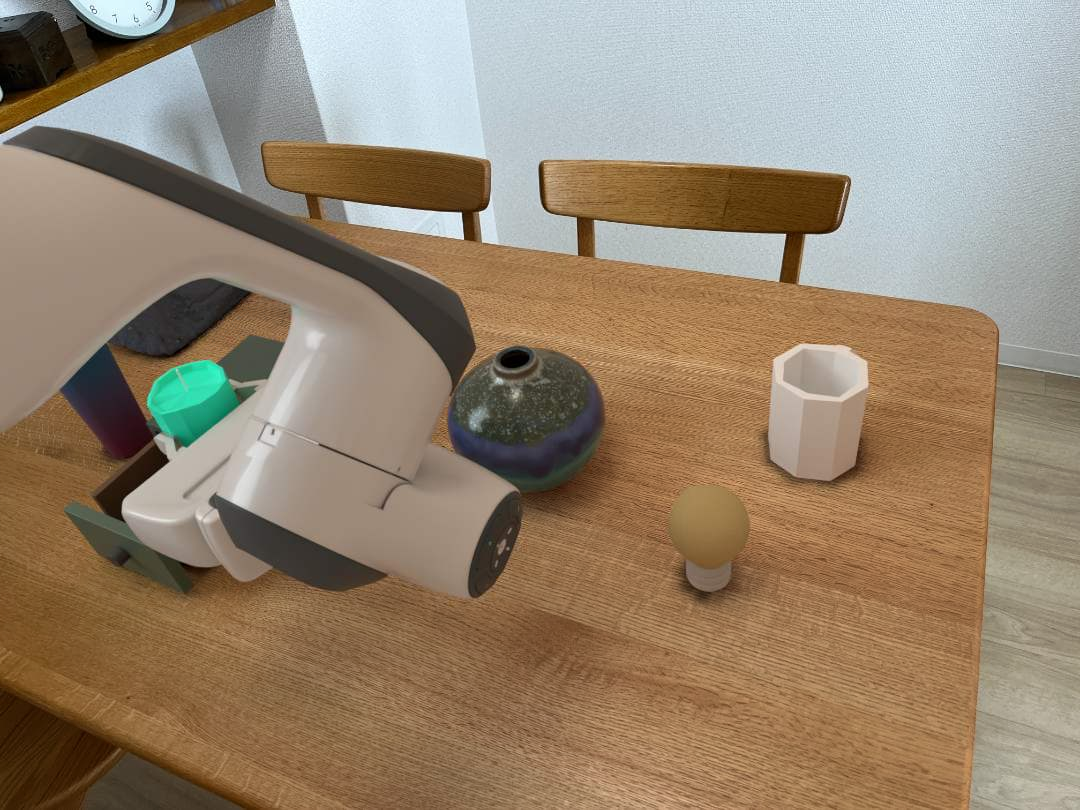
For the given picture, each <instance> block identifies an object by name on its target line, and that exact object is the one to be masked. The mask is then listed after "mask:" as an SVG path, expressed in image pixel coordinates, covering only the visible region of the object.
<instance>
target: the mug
mask: <svg viewBox="0 0 1080 810" xmlns="http://www.w3.org/2000/svg"><path fill="white" fill-rule="evenodd" d="M868 368H869V367H868V361H867V360H865V359H864V358H862V357H860V355H859V354H858V353H857V352H856V350H854V349H853V348H852V347H849V346H846V345H842V344H837V345H835V344H818V343H799V344H798V345H796V346H794V347H792V348H790V349H788V350H787V351H785V352H784V353H781V354H780V355H778V356H776V357H774V358H773V360H772V373H771V374H772V375H771V387H770V403H769V404H770V405H769V415H768V417H769V418H768V429H767V430H768V432H767V439H768V448H769V460H770V461H771V462H773V463H774V464H775V465H777V466H778V467H780V468H782V469H783V470H784V471H786V472H787V473H788V474H790V475H791V476H793V477H794V478H797V479H798V478H799V479H806V480H815V481H816V480H817V481H827V482H831V481H833V480H834V479H836V478H838V477H839V476H841V475H842V474H844V473H846V472H847V471H850V470H851V469H852V468H854V467H855V466H856V461H857V455H858V451H859V443H860V438H861V432H862V427H863V421H864V416H865V411H866V410H865V409H866V404H867V398H868V392H869V371H868Z"/></svg>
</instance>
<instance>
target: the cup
mask: <svg viewBox="0 0 1080 810" xmlns="http://www.w3.org/2000/svg"><path fill="white" fill-rule="evenodd" d="M58 392H60V394H61V395H62V396H63V397H64V398H65V400H66V401H67V402H68V403H69V404H70V406H71V407H72V408H73V409H74V411H75V412H76V413H77V415H78V416H79V417H80V418H81V420H82V421H83V422H84V423H85V425H86V426H87V427H88V428H89V430H91V431H92V433H93V435H95V437H96V438H97V440H99V442H100V443H101V444H102V446H103V447H104V448H105V449H106V451H107V452H108V453H109V454H110V455H111V456H112V457H114V458H118V459H122V458H124V459H125V458H130V457H133V456H135V455H136V454H137V453H138V452H139V451H140V450H141V449H143V448H144V447H145V446H146V445H147V444H148V443H150V442H151V441H152V440H153V439H154V436H153V434H152V432H151V431H150V429H149V428H148V426H147V424H146V423H147V422H148V420H147V418H146V416H145V414H144V413H143V410H142V409H141V407H140V404H139V403H138V401H137V399H136V397H135V394H134V393H133V391H132V389H131V387H130V385H129V384H128V382H127V379H126V378H125V376H124V374H123V371H122V370H121V368H120V366H119V364H118V362H117V360H116V358H115V356H114V354H113V353H112V351H111V349H110V347H109V345H108V342H106V343H105V344H104V345H103V346H102V347H101V348H100V349H99V350H98V351H97V352H96V353H95V354H94V355H93V356H92V357H91V358H90V359H89V360H88V361H87V362H86V363H85V364H84V365H83V366H82V367H81V368H80V369H79V370H78V371H77V372H76V373H75V374H74V375H73V376H72V377H71V378H70V380H69V381H68V382H67V383H66V384H65V385H64V386H63V387H62V388H61V389H60V390H59V391H58Z"/></svg>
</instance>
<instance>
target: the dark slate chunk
mask: <svg viewBox="0 0 1080 810" xmlns="http://www.w3.org/2000/svg"><path fill="white" fill-rule="evenodd" d="M249 293H250V291H247V290H244V289H241V288H238V287H235V286H232V285H229V284H226V283H224V282H221V281H218V280H215V279H212V278H205V279H198V280H195V281H191V282H189V283H186V284H184V285H182V286H180V287H178V288H176V289H174V290H173V291H171V292H169V293H167V294H166V295H165V296H163V297H162V298H160V299H159V300H157V301H156V302H154V303H153V304H152V305H150V306H149V307H148V308H146V309H145V310H144V311H142V312H141V313H140V314H138V315H137V316H136V317H135V318H134V319H132V320H131V321H130V322H129V323H127V324H126V325H125V326H124V327H123V328H121V329H120V330H119V331H118V332H117V333H116V334H115V335H114V336H113V337H112V338H111V339H109V340H108V341H107V342H106V343H109V344H112V345H114V346H116V347H121V348H127V349H129V350H131V351H133V352H135V353H139V354H140V353H142V354H145V355H149V356H151V357H156V356H159V357H163V356H172V355H174V354H175V353H177V351H179V350H181V349H183V348H184V347H186V346H188V345H190V344H191V342H193V341H195V340H196V339H197V338H198V337H199V336H200V335H202V334H203V333H204V332H205V331H207V330H209V329H210V328H211V327H212V326H213V324H215V323H216V322H218V321H219V320H221V318H222V317H223V316H224V315H225V314H227V313H228V312H229V311H230V310H231V309H233V307H234V306H235V305H237V304H238V303H239V302H240V301H241V300H242V299H243V298H244V297H245V296H246V295H248V294H249Z"/></svg>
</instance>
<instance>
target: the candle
mask: <svg viewBox="0 0 1080 810" xmlns="http://www.w3.org/2000/svg"><path fill="white" fill-rule="evenodd" d="M216 363H217V362H214V361H213V360H211V359H203V360H198V361H197V360H196V361H190V362H188V363H184V364H182V365H178V366H176V367H172V368H170V369H169V370H168V371H166V372H165V373H164V374H162V375H161V376H160V377H158V378H157V379H156V380H154V382H153V385H152V387H151V389H150V391H149V394H148V396H147V402H146V407H147V408H148V410H149V411H150V414H151V415H152V417H154V418H155V420H156V421H157V423H158V425H159V426H160V428H161V430H162V431H166V432H168V433H169V434H171V435H176V436H177V438H178V439H179V441H180V443H181V444H182V446H184V447H186V448H187V447H189V446H190V445H191V444H192V443H194V442H195V441H196V440H197V439H199V438H200V437H201V436H202V435H203V434H205V433H206V432H207V431H208V430H210V429H211V428H212V427H213V426H215V425H216V424H217V423H218V422H220V421H221V420H222V419H223V418H225V417H226V416H227V415H228V414H229V413H231V412H232V411H233V410H234V409H236V408H237V407H238V406H239V405H241V403H240V401H239V399H238V397H237V395H236V393H235V391H234V389H233V387H232V385H231V383H230V382H229V380H228V378H227V376H226V374H225V372H224V370H223V368H222V367H221V366H219V365H217V364H216Z"/></svg>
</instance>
